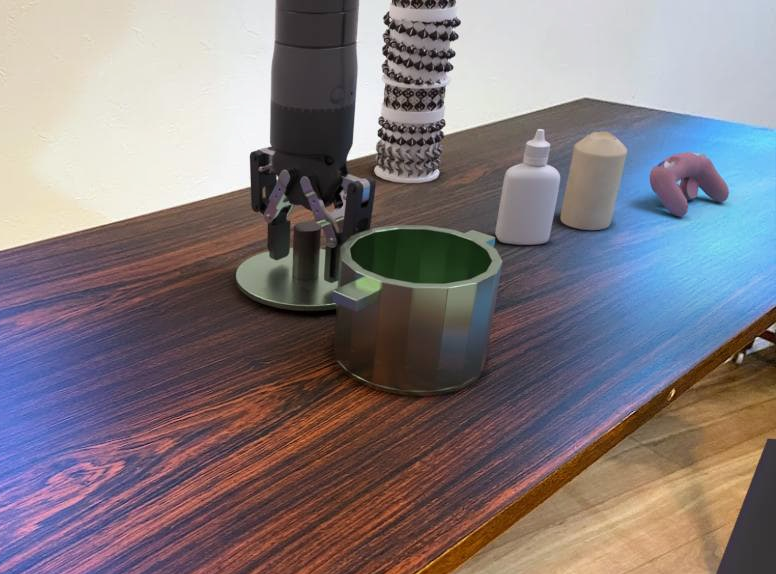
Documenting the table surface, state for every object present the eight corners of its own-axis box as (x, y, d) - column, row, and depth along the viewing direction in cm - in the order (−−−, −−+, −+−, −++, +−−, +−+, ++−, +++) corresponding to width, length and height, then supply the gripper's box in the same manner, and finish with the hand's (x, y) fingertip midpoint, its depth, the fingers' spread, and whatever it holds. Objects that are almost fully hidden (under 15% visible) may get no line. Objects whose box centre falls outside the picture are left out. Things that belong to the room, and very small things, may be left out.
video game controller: (697, 206, 113) (687, 149, 111) (733, 199, 109) (723, 141, 107) (649, 222, 108) (638, 164, 107) (684, 216, 104) (674, 155, 103)
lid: (403, 287, 89) (409, 227, 86) (307, 331, 82) (310, 267, 78) (302, 247, 98) (305, 191, 94) (207, 284, 90) (206, 224, 87)
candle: (613, 232, 101) (634, 143, 96) (562, 229, 102) (580, 140, 97) (606, 214, 106) (625, 128, 100) (557, 212, 107) (574, 126, 101)
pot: (530, 349, 79) (550, 246, 74) (399, 427, 68) (412, 314, 63) (414, 302, 87) (425, 206, 81) (281, 366, 76) (284, 261, 71)
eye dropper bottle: (502, 228, 102) (519, 121, 96) (552, 238, 100) (573, 128, 93) (490, 241, 99) (507, 131, 93) (541, 251, 97) (563, 139, 90)
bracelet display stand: (407, 189, 114) (429, -31, 100) (356, 170, 120) (371, -39, 106) (457, 175, 118) (484, -37, 105) (405, 157, 124) (425, -45, 111)
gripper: (404, 102, 77) (387, 280, 86) (285, 74, 86) (281, 238, 95) (346, 118, 73) (334, 303, 82) (227, 87, 82) (228, 257, 91)
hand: (305, 268), depth 89 cm, fingers open, 7 cm apart
